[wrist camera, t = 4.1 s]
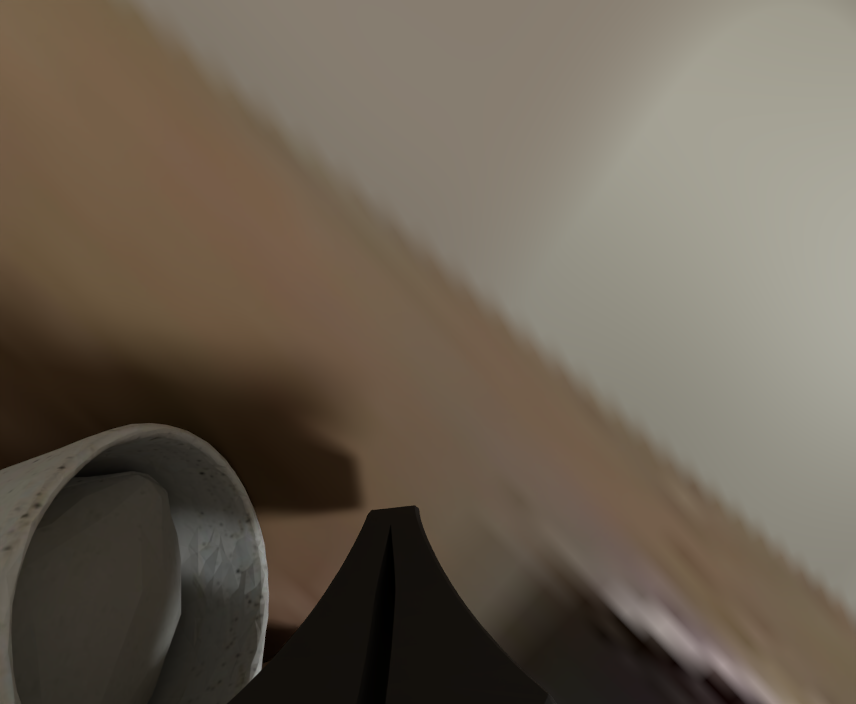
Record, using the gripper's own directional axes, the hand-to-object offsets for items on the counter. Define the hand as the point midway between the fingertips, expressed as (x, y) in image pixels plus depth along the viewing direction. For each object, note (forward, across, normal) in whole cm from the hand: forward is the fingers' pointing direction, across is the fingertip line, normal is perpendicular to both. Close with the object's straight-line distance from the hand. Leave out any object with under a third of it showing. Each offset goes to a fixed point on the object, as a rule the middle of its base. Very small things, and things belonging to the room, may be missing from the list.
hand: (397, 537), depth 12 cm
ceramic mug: (+2, +8, +1) cm, 8 cm away
